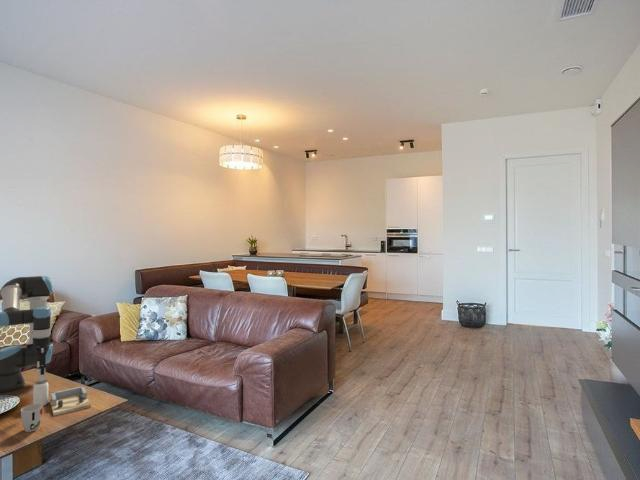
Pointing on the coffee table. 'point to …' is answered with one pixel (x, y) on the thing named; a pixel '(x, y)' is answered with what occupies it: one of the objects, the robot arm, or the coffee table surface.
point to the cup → (31, 416)
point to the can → (40, 392)
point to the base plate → (69, 404)
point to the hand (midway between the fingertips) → (41, 376)
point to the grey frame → (68, 393)
